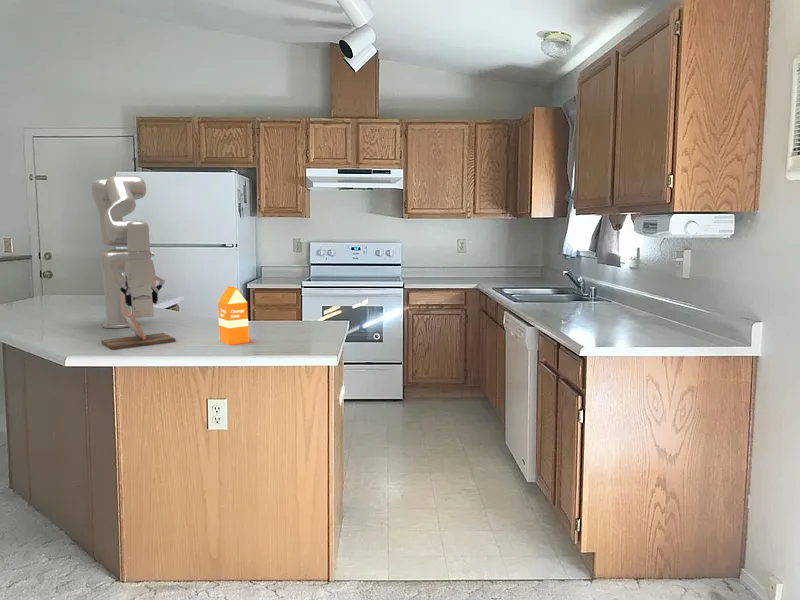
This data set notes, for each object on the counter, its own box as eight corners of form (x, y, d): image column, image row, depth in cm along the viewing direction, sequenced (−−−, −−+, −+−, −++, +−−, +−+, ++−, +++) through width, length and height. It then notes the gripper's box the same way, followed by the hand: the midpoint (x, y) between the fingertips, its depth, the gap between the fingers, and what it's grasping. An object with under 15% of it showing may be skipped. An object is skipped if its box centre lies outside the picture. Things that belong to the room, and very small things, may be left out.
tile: (138, 333, 248) (135, 335, 247) (124, 310, 244) (121, 312, 244) (146, 337, 240) (143, 339, 239) (132, 314, 236) (129, 315, 236)
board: (101, 343, 242) (101, 340, 242) (163, 336, 256) (162, 333, 255) (111, 349, 231) (111, 346, 231) (175, 341, 244) (175, 338, 244)
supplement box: (132, 319, 240) (129, 284, 238) (132, 315, 247) (128, 281, 245) (154, 317, 243) (151, 282, 241) (153, 313, 250) (150, 279, 248)
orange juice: (228, 344, 239) (226, 288, 236) (219, 340, 246) (216, 286, 243) (249, 342, 243) (247, 287, 240) (239, 338, 250) (237, 284, 247)
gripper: (160, 254, 249) (162, 301, 251) (110, 257, 238) (113, 305, 241) (167, 255, 243) (169, 303, 245) (116, 258, 232) (120, 308, 235)
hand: (142, 304), depth 243 cm, fingers closed on supplement box, 8 cm apart
